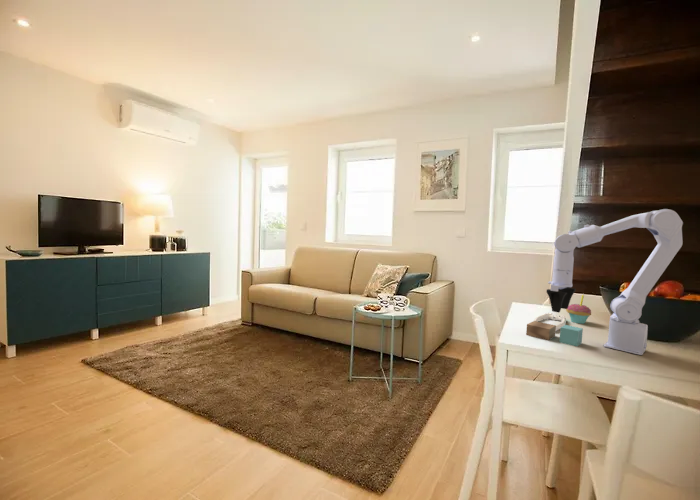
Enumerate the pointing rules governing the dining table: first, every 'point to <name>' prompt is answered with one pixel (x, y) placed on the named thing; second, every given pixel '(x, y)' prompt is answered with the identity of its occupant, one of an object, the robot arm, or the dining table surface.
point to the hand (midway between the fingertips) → (559, 310)
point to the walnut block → (541, 330)
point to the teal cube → (571, 335)
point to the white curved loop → (550, 316)
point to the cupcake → (579, 312)
